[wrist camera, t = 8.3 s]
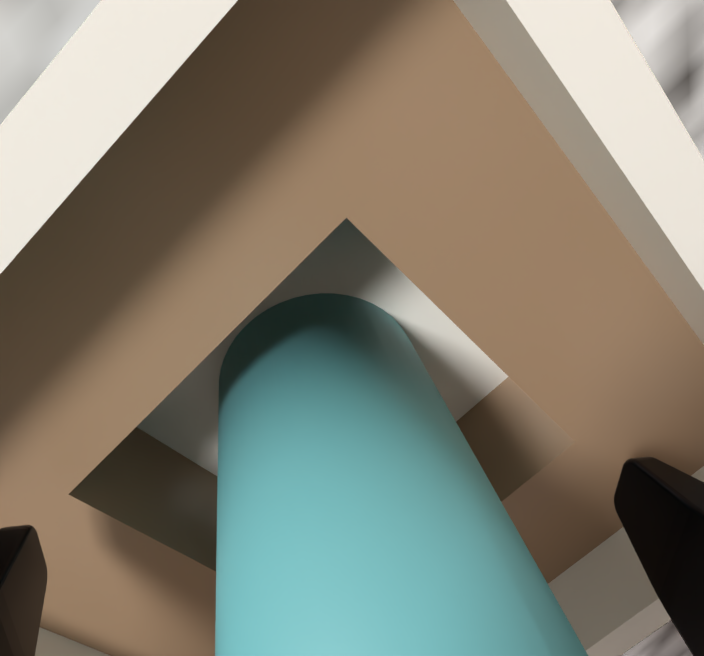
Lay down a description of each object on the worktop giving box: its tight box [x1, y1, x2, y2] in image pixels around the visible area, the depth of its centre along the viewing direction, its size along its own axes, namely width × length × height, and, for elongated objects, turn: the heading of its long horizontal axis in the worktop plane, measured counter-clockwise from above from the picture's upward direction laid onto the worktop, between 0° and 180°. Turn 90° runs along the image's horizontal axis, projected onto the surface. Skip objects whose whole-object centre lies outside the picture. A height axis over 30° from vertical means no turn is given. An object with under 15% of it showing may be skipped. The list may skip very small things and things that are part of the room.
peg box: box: [0, 0, 704, 656], centre depth 11 cm, size 13×13×5 cm
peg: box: [215, 293, 588, 656], centre depth 8 cm, size 4×4×9 cm
